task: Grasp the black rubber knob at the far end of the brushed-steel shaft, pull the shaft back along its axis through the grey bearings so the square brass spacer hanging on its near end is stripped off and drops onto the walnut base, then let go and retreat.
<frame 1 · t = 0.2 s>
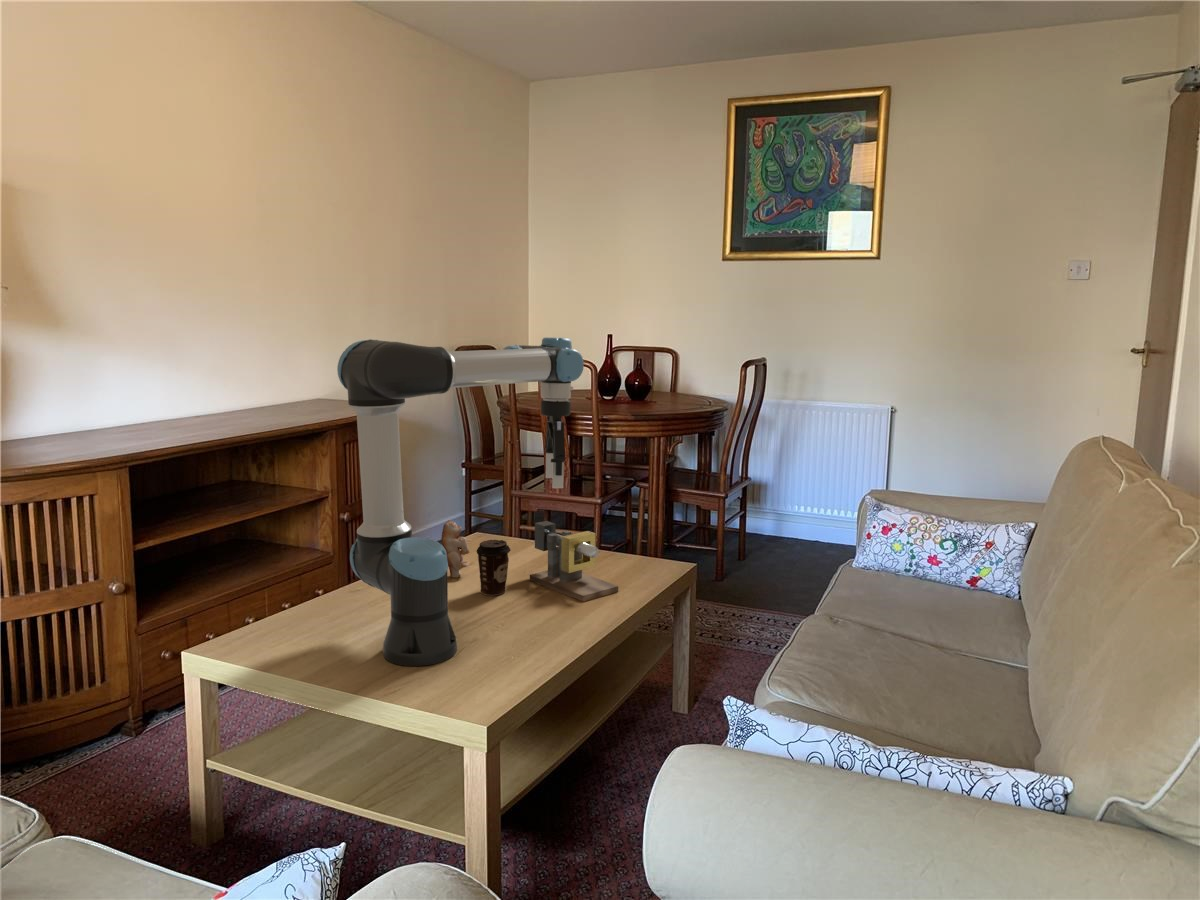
hand: (554, 482, 214), 28 cm above the table, fingers open, 13 cm apart
figurine: (455, 575, 229), on the table
bearing block: (573, 585, 222), on the table
shaft: (566, 542, 222), point 11 cm above the table, slide at 0.0 cm, touching spacer
spacer: (578, 568, 219), point 5 cm above the table, touching shaft
coffee cup: (493, 592, 216), on the table
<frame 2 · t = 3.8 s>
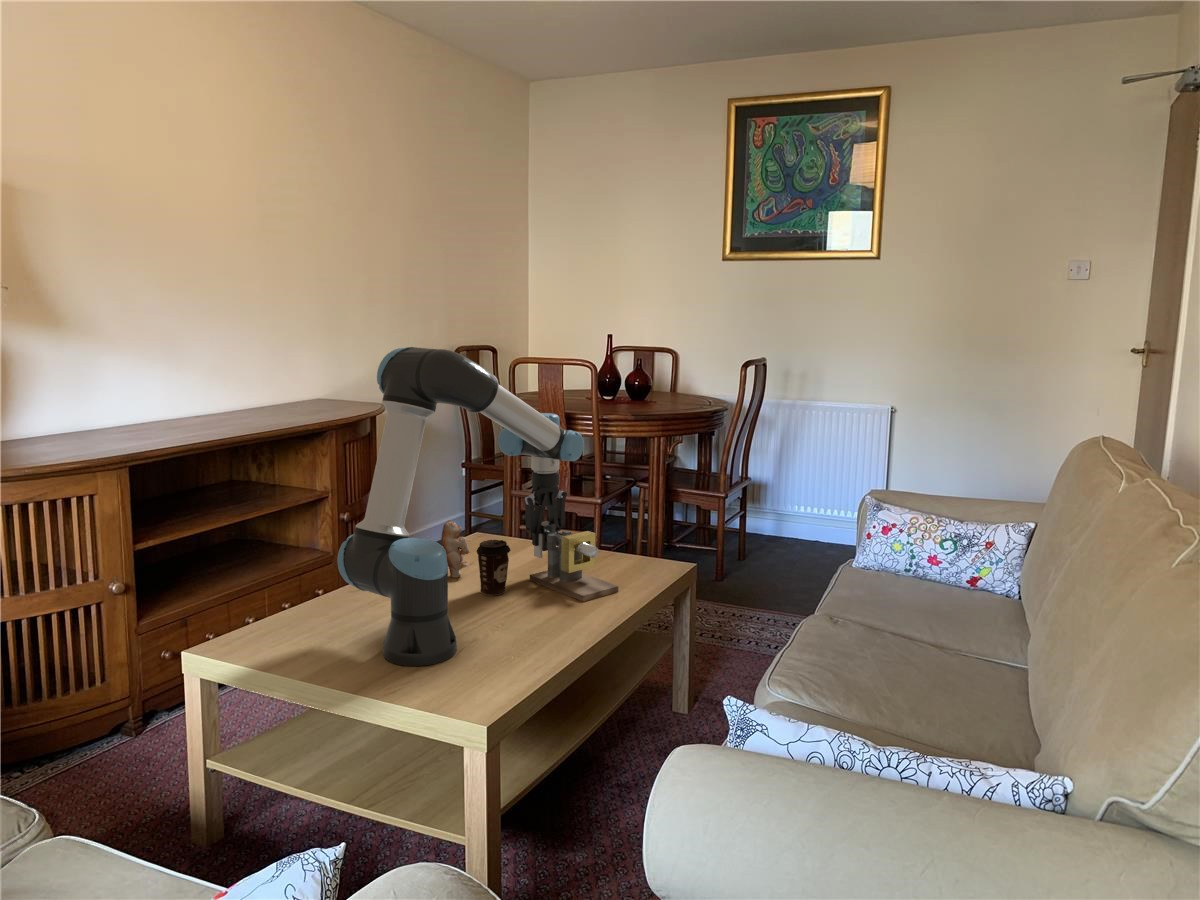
hand: (545, 555, 230), 6 cm above the table, fingers closed on shaft, 4 cm apart
shaft: (566, 542, 222), point 11 cm above the table, slide at 0.0 cm, touching gripper, spacer
everything else where it was.
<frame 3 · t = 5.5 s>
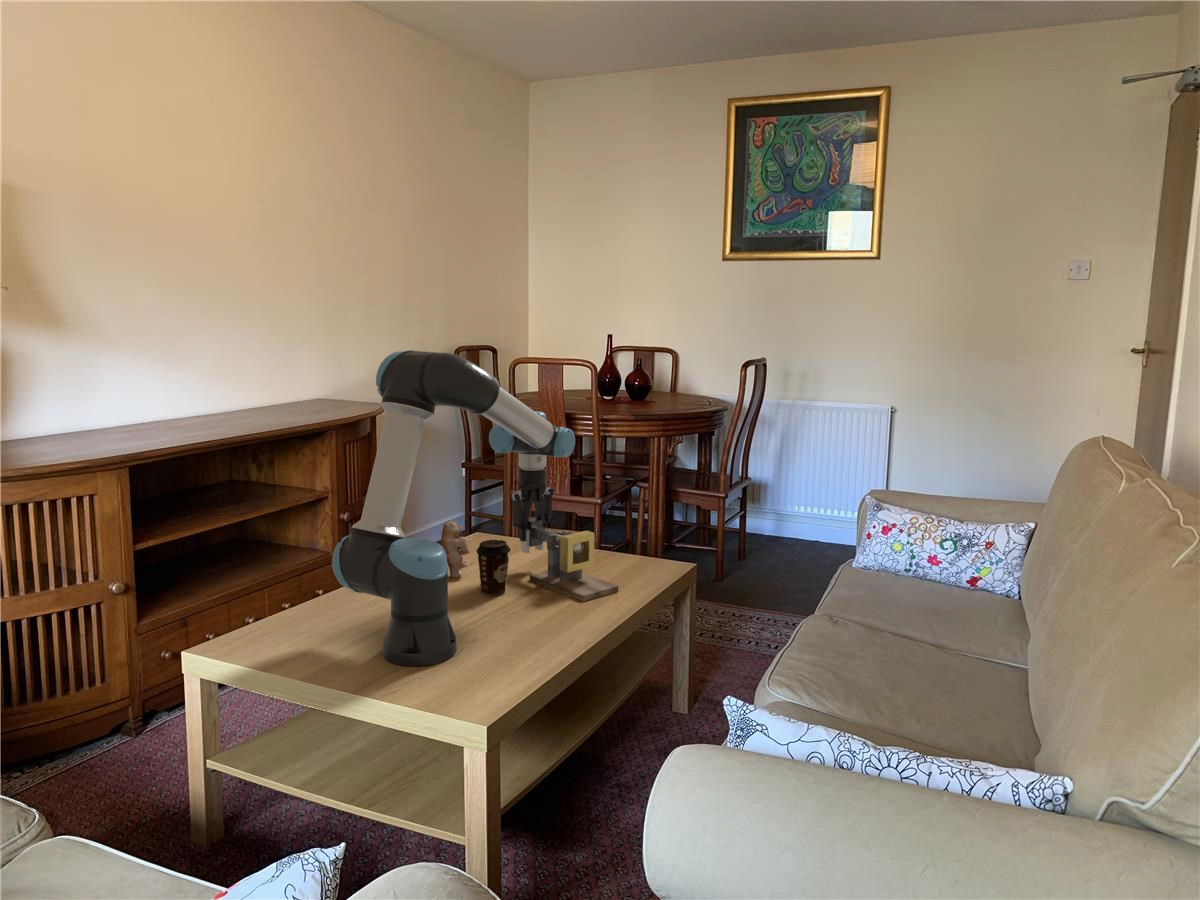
hand: (532, 550, 234), 6 cm above the table, fingers closed on shaft, 4 cm apart
shaft: (552, 538, 226), point 11 cm above the table, slide at 5.6 cm, touching gripper, spacer
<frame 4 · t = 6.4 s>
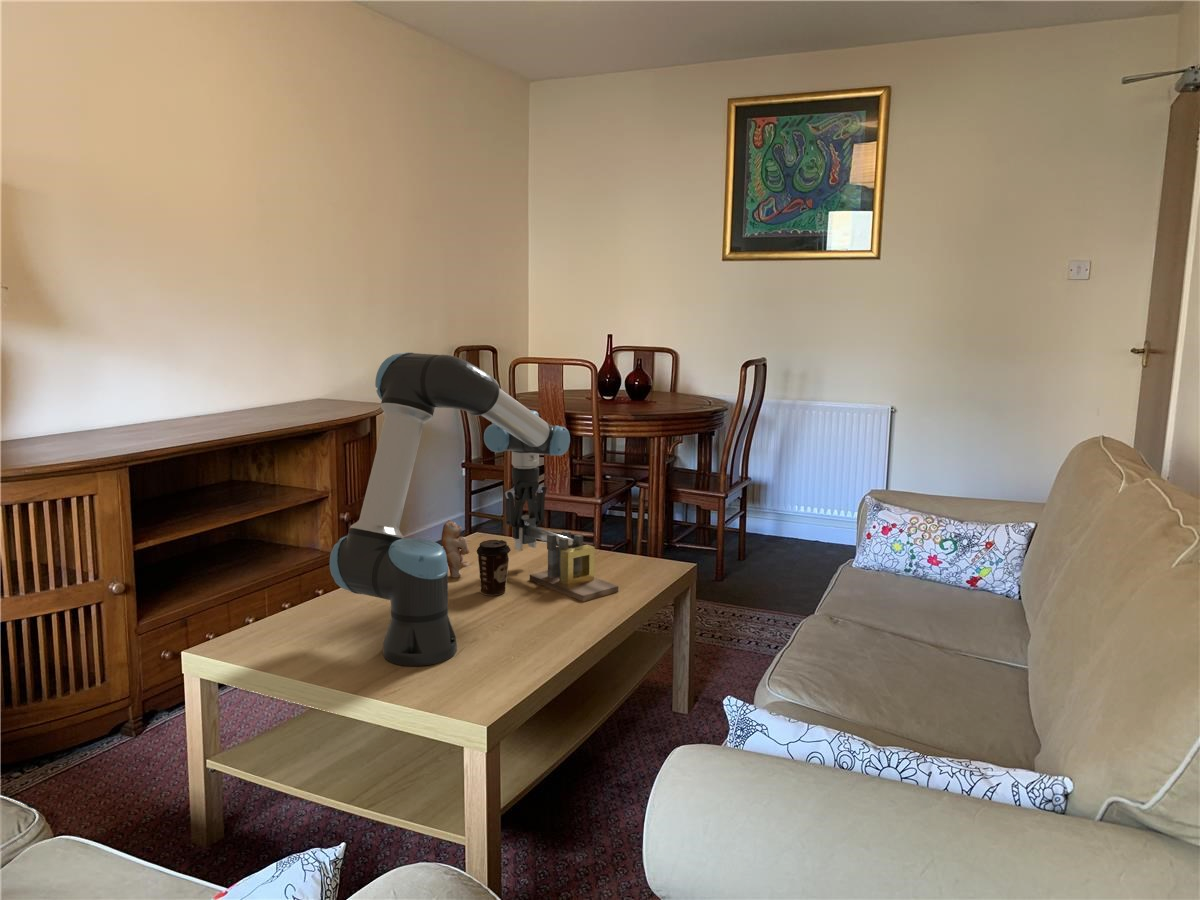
hand: (525, 547, 236), 6 cm above the table, fingers closed on shaft, 4 cm apart
shaft: (545, 536, 229), point 11 cm above the table, slide at 8.8 cm, touching gripper
spacer: (577, 581, 220), point 1 cm above the table, touching bearing block
everything else where it was.
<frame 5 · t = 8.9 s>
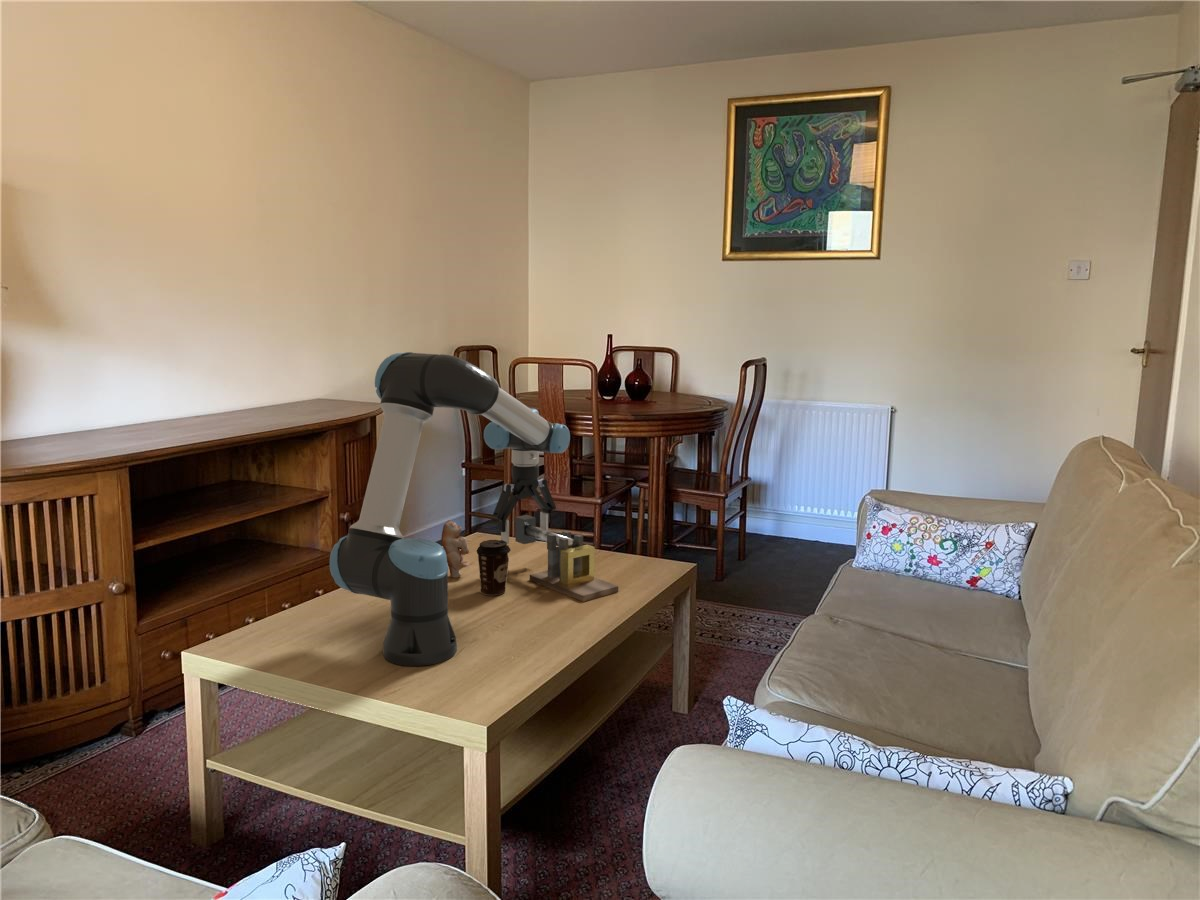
hand: (524, 539, 236), 8 cm above the table, fingers open, 13 cm apart
shaft: (545, 536, 229), point 11 cm above the table, slide at 8.8 cm
everything else where it was.
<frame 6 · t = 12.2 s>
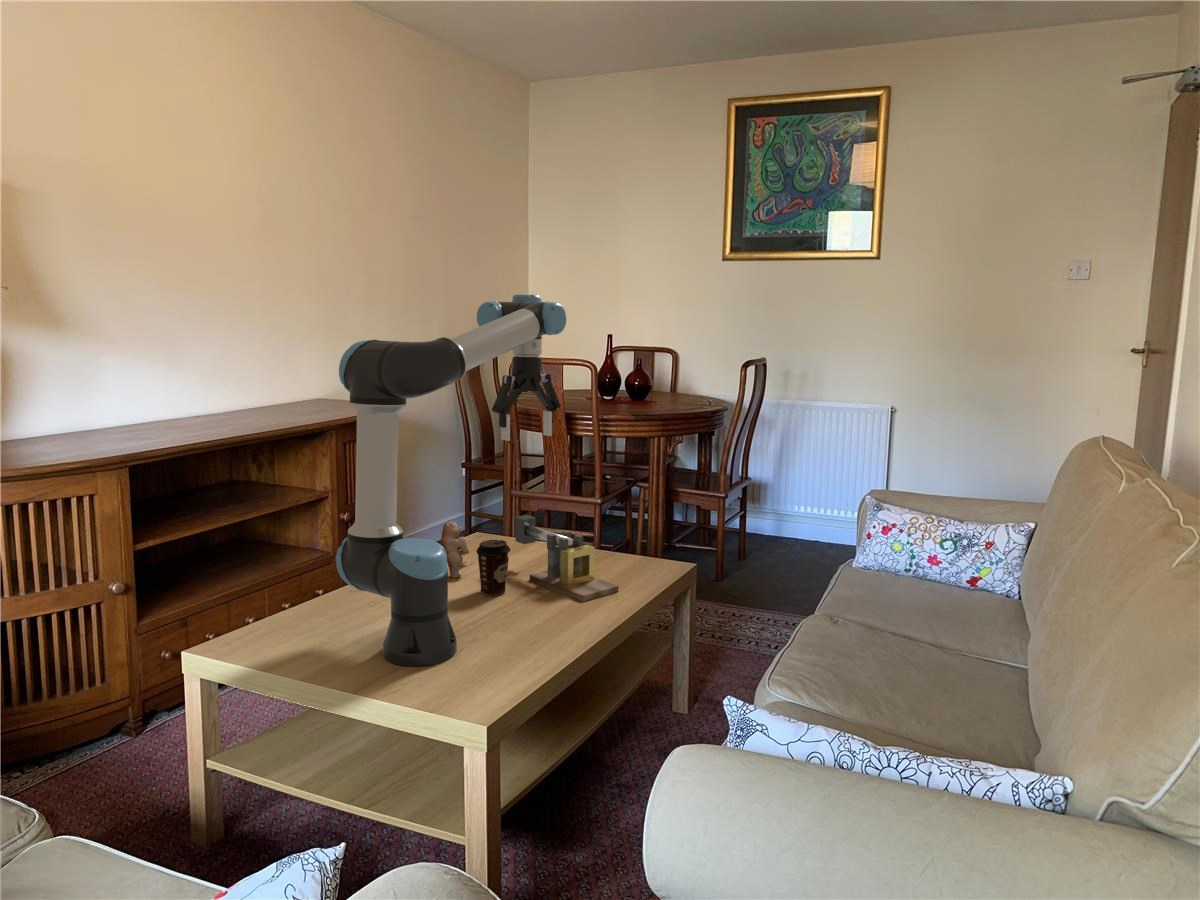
hand: (526, 437, 219), 39 cm above the table, fingers open, 13 cm apart
nothing on the table moved.
at the end: spacer point 1.5 cm above the table; shaft slide at 8.8 cm; the gripper is holding nothing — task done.
